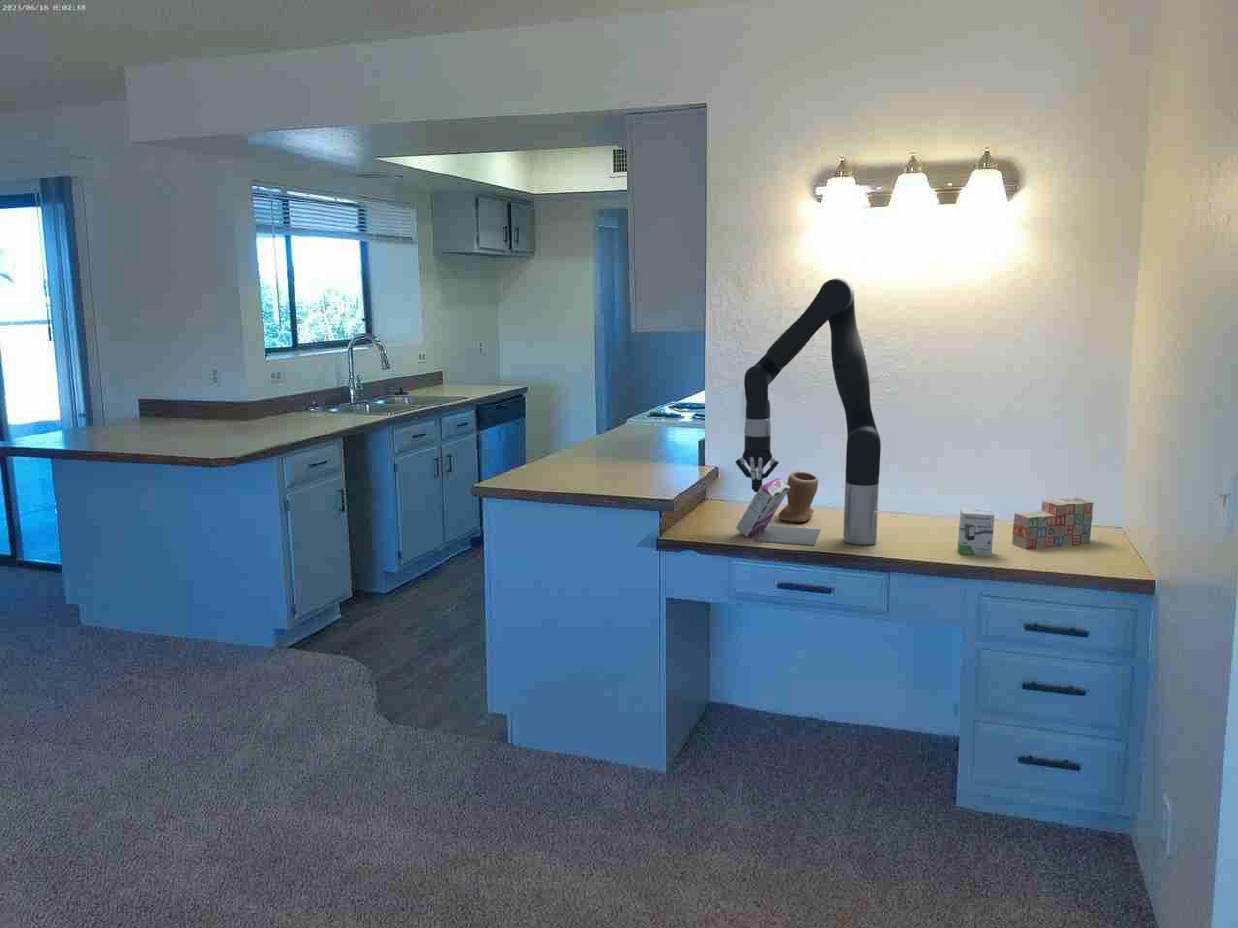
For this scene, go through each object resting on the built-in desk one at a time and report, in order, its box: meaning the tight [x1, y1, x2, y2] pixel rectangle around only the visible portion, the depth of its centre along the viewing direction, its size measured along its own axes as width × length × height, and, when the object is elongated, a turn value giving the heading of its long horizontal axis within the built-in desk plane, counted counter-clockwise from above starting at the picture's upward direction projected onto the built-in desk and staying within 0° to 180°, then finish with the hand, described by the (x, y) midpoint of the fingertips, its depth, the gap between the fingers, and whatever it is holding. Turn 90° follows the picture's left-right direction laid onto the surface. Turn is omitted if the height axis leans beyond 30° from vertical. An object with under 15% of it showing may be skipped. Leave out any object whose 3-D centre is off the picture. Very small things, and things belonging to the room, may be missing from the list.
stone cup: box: [777, 470, 819, 523], centre depth 305 cm, size 15×12×15 cm
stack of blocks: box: [1011, 497, 1094, 550], centre depth 275 cm, size 21×6×12 cm, turn 106°
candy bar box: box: [736, 477, 790, 538], centre depth 284 cm, size 11×5×16 cm
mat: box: [753, 525, 821, 547], centre depth 286 cm, size 17×18×1 cm
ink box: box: [957, 508, 995, 557], centre depth 266 cm, size 9×5×12 cm, turn 75°
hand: (756, 491), depth 286 cm, fingers closed
